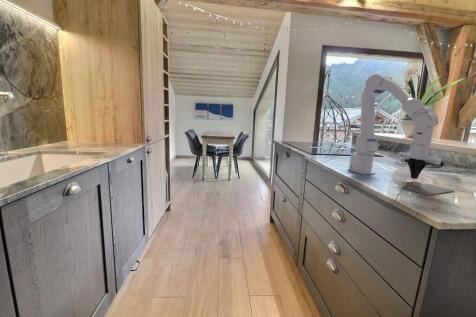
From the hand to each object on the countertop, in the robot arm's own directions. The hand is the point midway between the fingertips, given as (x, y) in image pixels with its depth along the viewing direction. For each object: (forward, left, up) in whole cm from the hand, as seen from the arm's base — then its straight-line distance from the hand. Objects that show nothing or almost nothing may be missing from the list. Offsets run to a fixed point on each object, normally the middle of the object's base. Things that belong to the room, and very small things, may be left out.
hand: (414, 178), depth 95 cm
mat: (+5, 0, -3) cm, 6 cm away
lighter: (-2, 0, -2) cm, 3 cm away
